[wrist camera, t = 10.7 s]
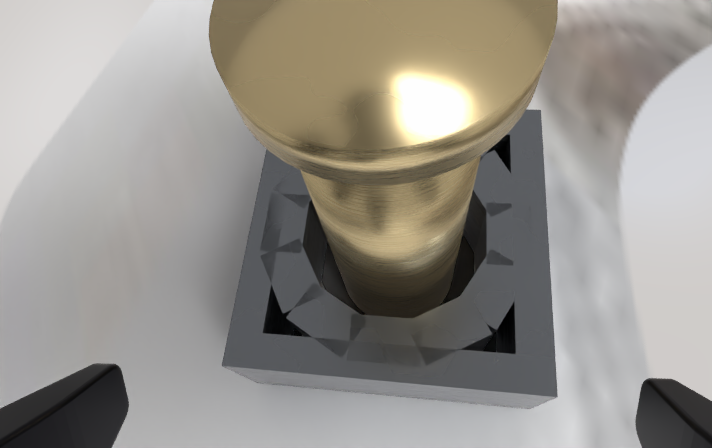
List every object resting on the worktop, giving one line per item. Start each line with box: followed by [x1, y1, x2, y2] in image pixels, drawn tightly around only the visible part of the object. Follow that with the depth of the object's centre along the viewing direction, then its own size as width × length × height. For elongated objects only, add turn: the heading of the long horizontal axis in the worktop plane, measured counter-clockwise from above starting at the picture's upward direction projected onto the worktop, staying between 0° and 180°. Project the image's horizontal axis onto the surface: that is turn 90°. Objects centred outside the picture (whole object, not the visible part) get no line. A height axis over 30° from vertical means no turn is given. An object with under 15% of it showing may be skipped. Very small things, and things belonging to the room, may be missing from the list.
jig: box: [222, 110, 557, 409], centre depth 17 cm, size 9×9×4 cm
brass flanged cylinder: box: [209, 0, 558, 319], centre depth 13 cm, size 5×5×12 cm
